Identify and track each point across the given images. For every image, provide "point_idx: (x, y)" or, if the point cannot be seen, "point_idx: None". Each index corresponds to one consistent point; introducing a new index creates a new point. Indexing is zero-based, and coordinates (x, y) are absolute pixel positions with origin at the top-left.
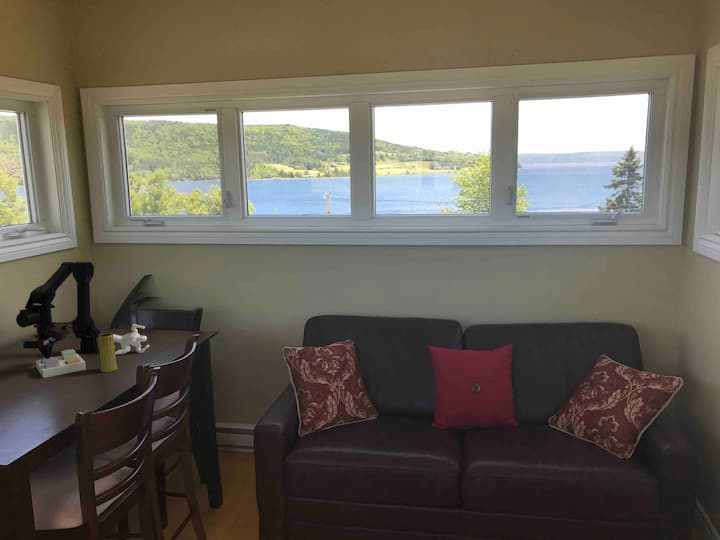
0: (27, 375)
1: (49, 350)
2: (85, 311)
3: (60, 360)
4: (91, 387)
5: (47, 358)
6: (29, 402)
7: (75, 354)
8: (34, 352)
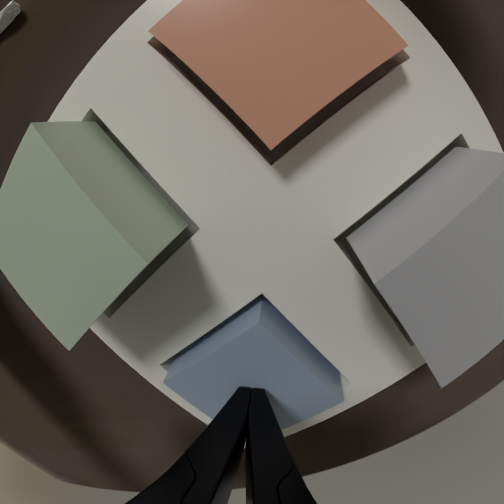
0: (412, 378)
1: (225, 474)
2: None
3: (223, 257)
4: None
5: (265, 403)
6: None
7: (64, 122)
8: (68, 445)
